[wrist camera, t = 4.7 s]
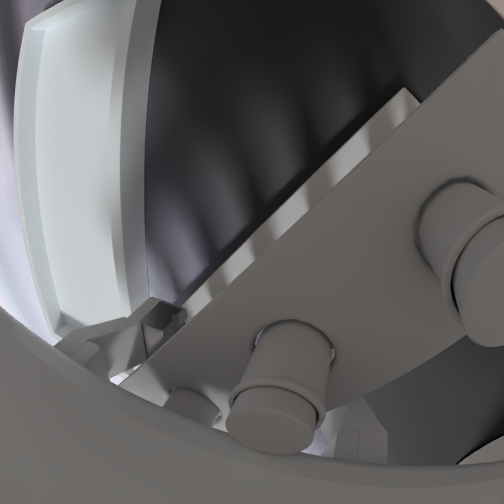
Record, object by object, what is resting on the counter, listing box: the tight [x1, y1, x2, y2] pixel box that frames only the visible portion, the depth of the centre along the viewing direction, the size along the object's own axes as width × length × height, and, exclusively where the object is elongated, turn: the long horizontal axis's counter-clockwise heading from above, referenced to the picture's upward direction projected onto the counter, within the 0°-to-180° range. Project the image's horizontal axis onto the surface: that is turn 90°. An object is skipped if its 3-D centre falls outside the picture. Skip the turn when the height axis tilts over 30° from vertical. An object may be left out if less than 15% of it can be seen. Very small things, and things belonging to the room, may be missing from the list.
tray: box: [14, 0, 161, 379], centre depth 20 cm, size 14×33×2 cm, turn 174°
